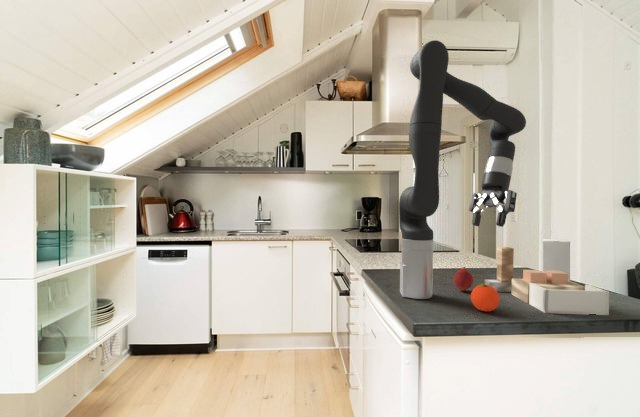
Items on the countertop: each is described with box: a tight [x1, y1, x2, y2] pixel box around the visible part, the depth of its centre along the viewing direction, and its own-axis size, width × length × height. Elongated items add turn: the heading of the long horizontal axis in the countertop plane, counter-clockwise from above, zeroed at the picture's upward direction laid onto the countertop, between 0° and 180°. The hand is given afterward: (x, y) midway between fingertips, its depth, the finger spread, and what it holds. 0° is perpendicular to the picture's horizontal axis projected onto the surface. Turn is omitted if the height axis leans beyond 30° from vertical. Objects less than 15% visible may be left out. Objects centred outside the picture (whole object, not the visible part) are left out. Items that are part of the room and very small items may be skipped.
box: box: [528, 283, 610, 316], centre depth 95 cm, size 16×8×6 cm, turn 85°
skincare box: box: [541, 238, 571, 281], centre depth 126 cm, size 8×7×16 cm
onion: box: [453, 265, 474, 292], centre depth 113 cm, size 6×6×8 cm
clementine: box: [470, 283, 501, 312], centre depth 93 cm, size 8×7×7 cm
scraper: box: [484, 246, 515, 293], centre depth 115 cm, size 11×4×14 cm, turn 85°
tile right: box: [544, 270, 568, 284], centre depth 105 cm, size 4×4×3 cm
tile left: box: [522, 269, 547, 283], centre depth 106 cm, size 4×4×3 cm
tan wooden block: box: [510, 277, 585, 305], centre depth 104 cm, size 16×10×5 cm, turn 85°
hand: (487, 225), depth 104 cm, fingers open, 8 cm apart
